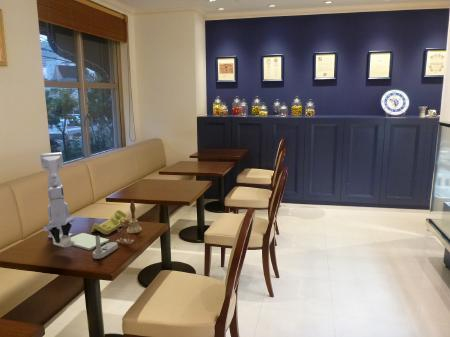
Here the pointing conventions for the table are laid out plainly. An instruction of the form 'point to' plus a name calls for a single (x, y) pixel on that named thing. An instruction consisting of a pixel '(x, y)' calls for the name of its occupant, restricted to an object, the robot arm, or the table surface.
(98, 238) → the electronic device
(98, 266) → the table surface
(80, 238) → the sage board
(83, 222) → the table surface
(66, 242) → the grey connector
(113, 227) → the plastic component
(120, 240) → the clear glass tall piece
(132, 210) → the hand bell
